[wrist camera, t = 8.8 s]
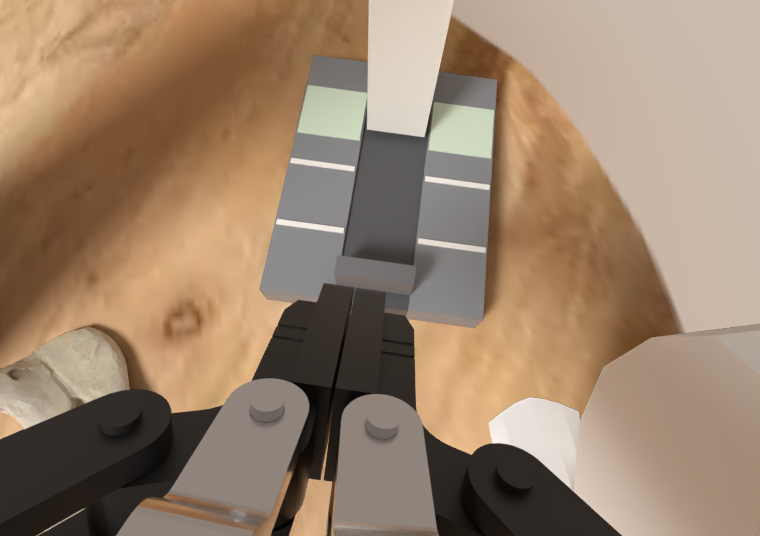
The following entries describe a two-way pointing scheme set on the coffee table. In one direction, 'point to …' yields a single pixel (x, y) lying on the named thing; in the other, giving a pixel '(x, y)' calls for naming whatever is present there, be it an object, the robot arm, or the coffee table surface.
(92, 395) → the fossil
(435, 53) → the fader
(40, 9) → the coffee table surface
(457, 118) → the console
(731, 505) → the heart sculpture
